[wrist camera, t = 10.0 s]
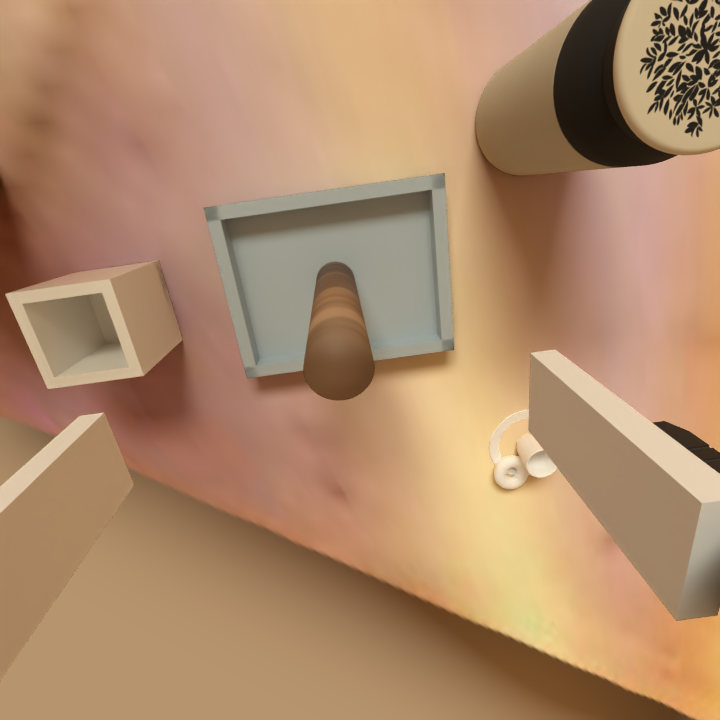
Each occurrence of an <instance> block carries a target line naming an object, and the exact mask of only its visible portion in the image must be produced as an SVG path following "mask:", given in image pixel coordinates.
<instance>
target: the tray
mask: <svg viewBox="0 0 720 720" xmlns="http://www.w3.org/2000/svg"><path fill="white" fill-rule="evenodd" d="M204 211H205V215H206V219H207V223H208V227H209V231H210V235H211V239H212V243H213V247H214V251H215V255H216V259H217V262H218V266H219V270H220V274H221V278H222V282H223V286H224V290H225V294H226V298H227V302H228V306H229V310H230V314H231V318H232V322H233V325H234V329H235V333H236V337H237V341H238V345H239V349H240V353H241V357H242V361H243V365H244V369H245V373H246V377H247V378H253V377H260V376H268V375H275V374H282V373H289V372H297V371H303V364H304V358H305V351H306V344H307V338H308V331H309V325H310V318H311V311H312V305H313V298H314V291H315V285H316V278H317V274H318V272H319V270H320V269H321V267H323V266H324V265H325V264H327V263H329V262H341V263H344V264H346V265H347V266H348V267H349V268H350V269H351V270H352V272H353V274H354V278H355V282H356V286H357V291H358V295H359V299H360V304H361V308H362V312H363V316H364V321H365V325H366V329H367V334H368V338H369V342H370V346H371V351H372V355H373V359H374V361H376V360H384V359H391V358H398V357H406V356H413V355H420V354H427V353H435V352H442V351H449V350H454V338H453V320H452V301H451V283H450V264H449V246H448V228H447V209H446V191H445V173H443V174H436V175H429V176H422V177H415V178H408V179H401V180H394V181H387V182H380V183H373V184H366V185H359V186H352V187H345V188H338V189H331V190H324V191H317V192H310V193H303V194H296V195H289V196H282V197H275V198H268V199H261V200H255V201H248V202H241V203H234V204H227V205H220V206H213V207H206V208H204Z"/></svg>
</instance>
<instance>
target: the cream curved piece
mask: <svg viewBox="0 0 720 720" xmlns="http://www.w3.org/2000/svg"><path fill="white" fill-rule="evenodd" d="M525 418H529V409H526V410H522V411H519V412H516V413H514V414H512V415H510V416H509V417H507V418H506V419H504V420H503V421H502V422H501V423H500V424H499V425H498V426H497V427H496V429H495V430H494V432H493V434H492V436H491V439H490V443H489V453H490V457H491V459H492V461H493V463H494V464H495V468H494V479H495V481H496V483H497V484H498V485H499V486H500V487H502V488H504V489H516V488H518V487H520V486H521V485H523V484H524V483H525V481H526V480H527V478H528V476H530V475H532V476H534V477H539V478H541V477H546V476H549V475H551V474H552V473H554V472H555V471H556V469H557V466H556V465H555V464H554V463H553V461H552V460H551V459H550V457H549V456H548V455H547V454H546V452H545V451H544V450H543V448H542V447H541V446H540V445H539V443H538V442H537V441H536V439H535V438H534V437H533V435H532V434H530V433H528V434H524V435H522V436H521V437H520V438H519V439H518V441H517V445H516V446H517V452H518V454H519V456H515V455H509V456H505V457H503V458H502V457H501V455H500V452H499V442H500V439H501V437H502V435H503V433H504V432H505V430H506V429H507V428H508V427H509V426H511V425H512V424H513V423H515V422H517V421H519V420H522V419H525ZM506 473H507V474H510V475H514V476H512V477H507V476H506Z"/></svg>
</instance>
